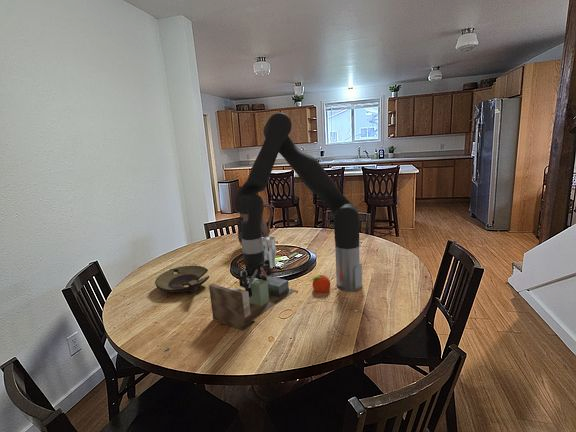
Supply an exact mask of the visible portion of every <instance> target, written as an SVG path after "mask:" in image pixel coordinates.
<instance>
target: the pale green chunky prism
mask: <svg viewBox="0 0 576 432" xmlns="http://www.w3.org/2000/svg"><path fill="white" fill-rule="evenodd" d="M248 283H249V281H248ZM248 283H247V284H248ZM251 290H252V296H251V297H249V303H251V304H254V305H258V306H263V305H264V304H266V303H268V302H269V293H268V282H267V281H265V280H261V278H257V277H256V278H255V279H254V281H253V282H252V284H251Z"/></svg>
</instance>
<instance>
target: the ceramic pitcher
mask: <svg viewBox="0 0 576 432" xmlns="http://www.w3.org/2000/svg"><path fill="white" fill-rule="evenodd" d="M264 208H268V209H269V212H270V213H269V218H268V220H267V221H266V220H265V218H264V216H263V215H262V221H261V234H262V238H263V237H269V236H270V234H271V233H270V232H271V228H270V226H271V223H272V219H273V215H274V211H273V207H272V206H271V205H270V204H268V203H267V204H265V203H264ZM246 220H248V214H241V213H239V221H238V222H239V224H238V228H237V229H238V231H237V238H238V242H239V244H240V245H241V246H242V235H241V223H242V222H244V221H246Z"/></svg>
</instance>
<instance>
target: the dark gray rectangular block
mask: <svg viewBox="0 0 576 432" xmlns="http://www.w3.org/2000/svg"><path fill="white" fill-rule="evenodd" d="M267 282H268V293H269V295H272V296H276V297H279V298H280V297H281V296H283V295H284V294H286V293H287V292H289V289H290V286H289V280H287V279H283V278H279V277H276V276H275V277H274V276H272V275H268V277H267Z"/></svg>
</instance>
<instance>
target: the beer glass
mask: <svg viewBox="0 0 576 432" xmlns="http://www.w3.org/2000/svg"><path fill="white" fill-rule="evenodd" d="M275 239H276V238H275V236H271V235H269V237H263V238H262V240H263V248H264V259H266V260H269V262H270V269H274V268H275V266H276V267H277V263H276V253H277V249H276V248H277V247H276V246H277V245H276V240H275ZM273 267H274V268H273Z"/></svg>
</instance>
